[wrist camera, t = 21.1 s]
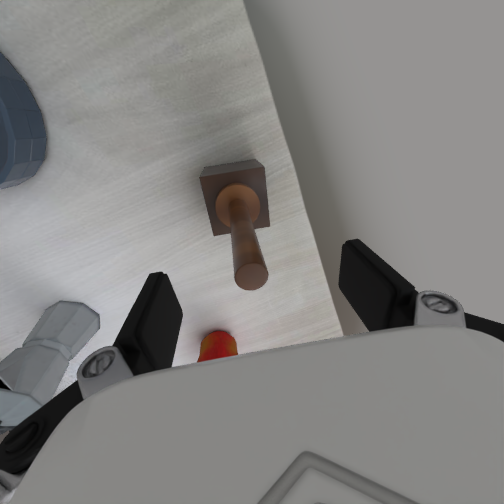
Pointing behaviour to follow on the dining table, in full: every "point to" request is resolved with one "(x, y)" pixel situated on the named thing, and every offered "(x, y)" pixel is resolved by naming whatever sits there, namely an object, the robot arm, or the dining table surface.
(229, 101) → the dining table surface
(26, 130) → the bowl
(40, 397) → the coffee maker
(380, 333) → the robot arm
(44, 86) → the dining table surface
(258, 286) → the wooden plunger
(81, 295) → the dining table surface
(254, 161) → the rest
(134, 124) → the dining table surface
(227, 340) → the apple
